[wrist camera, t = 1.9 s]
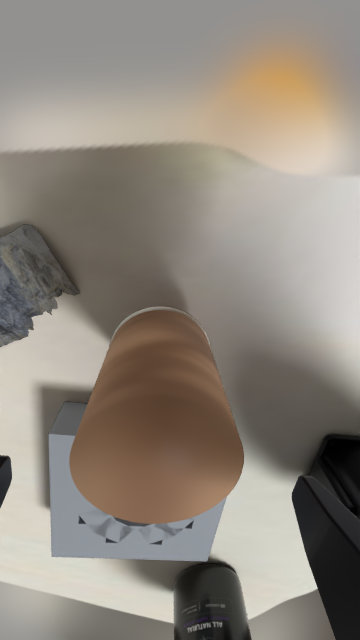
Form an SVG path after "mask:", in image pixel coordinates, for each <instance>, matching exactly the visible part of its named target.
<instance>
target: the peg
mask: <svg viewBox="0 0 360 640" xmlns="http://www.w3.org/2000/svg"><path fill="white" fill-rule="evenodd" d="M243 464H244V452H243V446H242V443H241V440H240V437H239V434H238V431H237V428H236V425H235V421H234V418H233V415H232V412H231V409H230V406H229V403H228V400H227V397H226V394H225V391H224V388H223V385H222V382H221V379H220V376H219V373H218V369H217V366H216V363H215V360H214V357H213V354H212V351H211V346H210V342H209V339H208V336H207V334H206V332H205V330H204V328H203V327H202V326H201V324H200V323H199V322H198V321H197V320H196V319H195V318H193V317H192V316H191V315H189V314H187V313H186V312H183V311H181V310H179V309H175V308H171V307H163V306H157V307H149V308H145V309H142V310H139V311H137V312H135V313H133V314H131V315H130V316H128V317H127V318H126V319H124V320H123V321H122V322H121V323H120V324H119V326H118V327H117V329H116V330H115V332H114V334H113V336H112V339H111V341H110V345H109V349H108V352H107V354H106V357H105V360H104V362H103V365H102V368H101V370H100V373H99V375H98V378H97V381H96V383H95V386H94V389H93V391H92V394H91V396H90V399H89V402H88V404H87V407H86V410H85V412H84V415H83V418H82V420H81V423H80V425H79V428H78V431H77V433H76V436H75V439H74V441H73V444H72V447H71V451H70V457H69V466H70V472H71V476H72V479H73V481H74V483H75V486H76V487H77V489H78V490H79V492H80V493H81V494H82V495H83V496H84V497H85V499H86V500H88V501H89V502H90V503H91V504H92V505H93V506H95V507H96V508H98V509H100V510H101V511H103V512H105V513H107V514H109V515H111V516H114V517H116V518H119V519H123V520H126V521H131V522H137V523H146V524H162V523H171V522H177V521H181V520H185V519H189V518H192V517H194V516H197V515H199V514H202V513H204V512H206V511H208V510H209V509H211V508H213V507H214V506H216V505H217V504H218V503H220V502H221V501H222V500H223V499H224V498H225V497H226V496H227V495H228V494H229V493H230V492H231V491H232V489H233V488H234V487H235V485H236V483H237V482H238V480H239V478H240V475H241V473H242V469H243Z"/></svg>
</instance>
